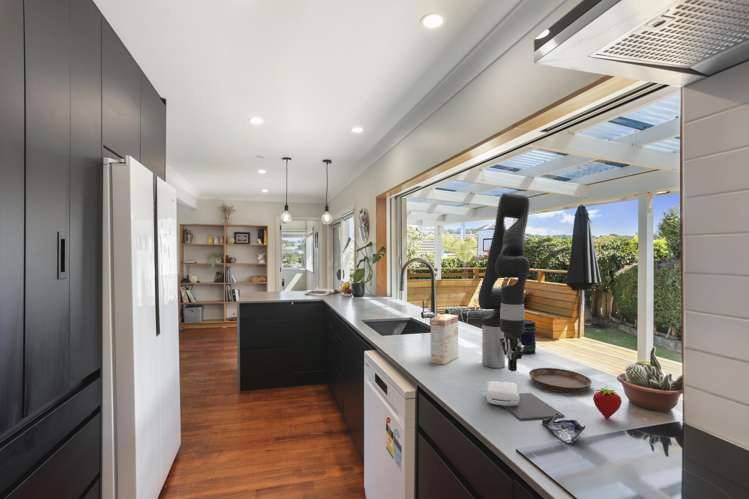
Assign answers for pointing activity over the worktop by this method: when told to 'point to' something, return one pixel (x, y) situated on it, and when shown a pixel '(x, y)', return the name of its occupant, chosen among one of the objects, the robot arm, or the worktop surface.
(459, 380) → the worktop surface
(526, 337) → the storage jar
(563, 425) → the snack package
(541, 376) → the plant saucer
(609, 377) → the worktop surface
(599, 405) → the strawberry
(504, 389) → the photo printer
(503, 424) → the worktop surface
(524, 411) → the mat
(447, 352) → the coffeecake box
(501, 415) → the worktop surface
